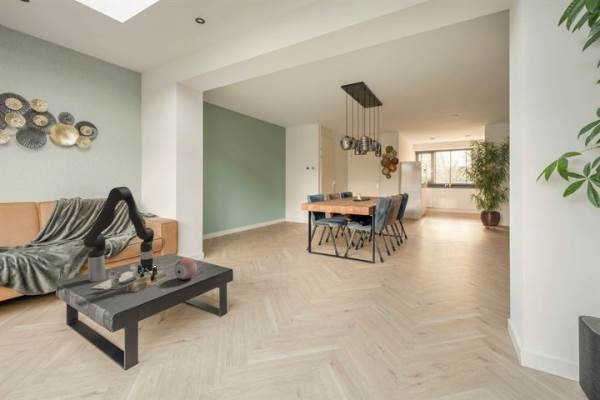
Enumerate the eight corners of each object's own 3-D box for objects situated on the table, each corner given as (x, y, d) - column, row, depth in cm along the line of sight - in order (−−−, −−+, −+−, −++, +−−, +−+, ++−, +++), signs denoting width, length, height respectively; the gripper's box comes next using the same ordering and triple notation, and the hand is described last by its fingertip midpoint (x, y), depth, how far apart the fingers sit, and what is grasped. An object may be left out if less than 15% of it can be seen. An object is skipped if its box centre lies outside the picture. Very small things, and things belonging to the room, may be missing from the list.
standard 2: (130, 280, 186) (129, 265, 186) (134, 278, 190) (134, 263, 189) (137, 281, 185) (137, 265, 184) (142, 279, 188) (141, 264, 188)
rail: (130, 289, 169) (129, 282, 168) (158, 276, 192) (158, 270, 192) (134, 290, 168) (134, 283, 168) (162, 277, 191) (162, 270, 191)
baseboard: (141, 273, 201) (127, 273, 202) (141, 270, 200) (127, 269, 202) (108, 290, 170) (91, 289, 171) (107, 286, 170) (91, 285, 171)
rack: (125, 290, 169) (125, 286, 168) (157, 276, 194) (156, 272, 193) (136, 292, 166) (136, 287, 166) (167, 277, 191) (167, 273, 191)
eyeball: (169, 282, 183) (169, 261, 182) (182, 274, 198) (181, 255, 197) (189, 283, 181) (189, 262, 180) (200, 275, 196) (200, 256, 195)
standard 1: (109, 289, 171) (108, 272, 170) (114, 286, 174) (113, 270, 174) (116, 290, 169) (116, 273, 169) (121, 287, 173) (121, 271, 172)
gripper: (133, 258, 177) (134, 281, 178) (150, 259, 173) (151, 283, 174) (142, 255, 184) (143, 277, 185) (159, 256, 181) (160, 279, 182)
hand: (147, 280), depth 180 cm, fingers open, 8 cm apart
